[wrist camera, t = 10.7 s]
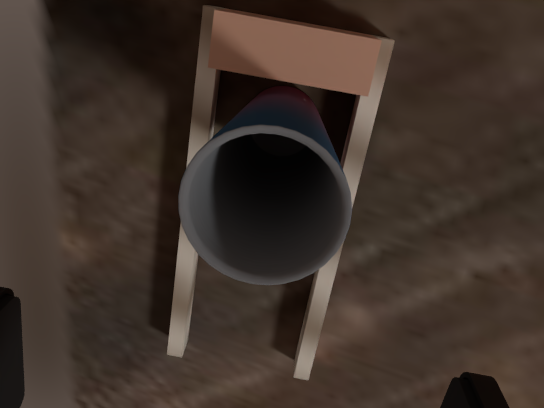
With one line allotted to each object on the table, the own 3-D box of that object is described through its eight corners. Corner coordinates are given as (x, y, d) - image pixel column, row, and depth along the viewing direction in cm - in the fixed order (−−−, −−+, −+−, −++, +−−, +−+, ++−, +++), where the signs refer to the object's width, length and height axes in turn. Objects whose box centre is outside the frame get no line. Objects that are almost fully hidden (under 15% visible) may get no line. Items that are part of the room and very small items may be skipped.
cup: (321, 60, 31) (333, 105, 17) (341, 159, 33) (365, 270, 20) (220, 84, 32) (154, 146, 18) (246, 179, 34) (205, 297, 21)
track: (209, 5, 30) (191, 5, 25) (389, 38, 30) (404, 44, 26) (173, 338, 40) (156, 381, 36) (308, 362, 40) (308, 409, 36)
